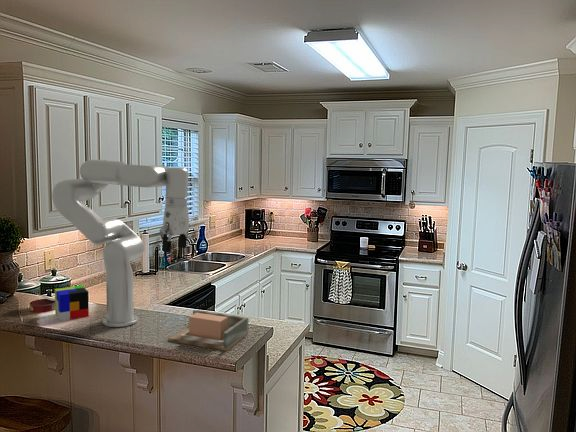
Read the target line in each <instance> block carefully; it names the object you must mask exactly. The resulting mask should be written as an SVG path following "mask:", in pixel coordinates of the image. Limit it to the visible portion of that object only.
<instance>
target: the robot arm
mask: <svg viewBox="0 0 576 432" xmlns="http://www.w3.org/2000/svg"><path fill="white" fill-rule="evenodd" d="M79 175H80V177H81V178H73V179H64V180H61V181H58V182H57V183H56V184H55V185H54V187H53V189H52V195H51V198H52V203H53V206H54V208H55V209H56V210H57V212H58V213H59V214H60V215H61V216H62V217H63V218H65V219H66V220H67V221H69V222H70V224H72V225H73V227H75V228H76V229H77V230H78V231H79V232H80V233H81V234H82V235H83V236H84V237H85V238H86V239H88V241H89V242H91V243H92V244H94V245H104V248H103V251H102V258H103V263H104V268H105V280H106V281H105V282H106V284H105V287H106V316H105V317H103V319H102V325H104V326H105V327H110V328H120V327H121V328H124V327H129V326H132V325H134V324H136V323H137V322H138V321H139V317H138V316H137V315H136V314H135V311H134V310H135V309H134V307H135V305H134V301H135V300H134V294H135V293H134V273H133V268H132V265H131V261H134V260H137V259H139V258H141V257H142V255H144V252H145V243H144V241H143V240H142V239H141V237H140V236H139V235H138V234H137V233H136V232H135V231H133V229H131V228H130V226H129V225H127V224H126V223H125V222H124V221H122V220H121V219H119V218H118V217H113V216H112V217H101V216H99V215H98V214H97V213H96V212H95V211H94V210H92V208H91V207H89V206H87V205H85V204H83V203H82V202H86V201H90V200H92V199H94V198H95V197H96V196H98V195H99V194H100V193H101V192H103V190H104V189H105V188H107V186H108V185H117V186H126V187H136V188H138V187H139V188H158V187H165V195H164V196H165V198H164V199H165V200H164V201H165V203H164V204H165V205H164V206H165V207H164V211H163V219H162V226H161V227H160V228H159V229H158V230H159V234H160V238H161V241H162V249H161V250H162V252H163V253H168V254H169V253H171V252H172V240H171V239H172V237H173V236H178V243H177V247H178V248H180V249H186V248H187V244H188V243H187V241H188V240H187V239H188V236H189V235H188V234H189V230H190V226H191V224H190V221H189V219H190V217H189V208H188V187H189V186H188V182H189V170H188V169H187V168H185V167H176V166H175V167H173V166H171V167H169V166H166V165H143V164H141V165H139V164H129V163H125V162H124V161H118V160H116V161H115V160H106V159H88V160H86V161H84V162H82V164H81V165H80V166H79Z"/></svg>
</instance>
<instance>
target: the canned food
mask: <svg viewBox="0 0 576 432" xmlns="http://www.w3.org/2000/svg"><path fill="white" fill-rule="evenodd" d="M31 291H32V292H33V293H35V294H36V295H38V296H39V297H41V298H39V299H35V300H32V301H30V302H29V311H30V312H31V313H33V314H34V313H36V314H41V313H49V312H53V311H55V298H51V297H50V296H49V297H48V296H44V295H42V294H39V293H37V292H35V291H34V290H33V289H31Z"/></svg>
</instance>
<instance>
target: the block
mask: <svg viewBox="0 0 576 432" xmlns="http://www.w3.org/2000/svg"><path fill="white" fill-rule="evenodd" d="M227 319H228V317H223V316H217V315H210V314H203V313H195V314H193V313H192V315H190V316H189V317H188V326H189V335H190V336H196V337H202V338H208V339H214V340H220V341H222V340H223V334H224V332H225V331H227Z"/></svg>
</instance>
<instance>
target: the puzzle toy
mask: <svg viewBox="0 0 576 432" xmlns="http://www.w3.org/2000/svg"><path fill="white" fill-rule="evenodd" d="M54 299H55V310H54V312H55V313H54V314H55V316H56V317H57V318H58V320H59V321H60V322H64V321H69V320H76V319H83V318H87V317H88V318H89V317H90V315H89V314H90V312H89V309H90V308H89V307H90V306H89V291H88V290H87V289H86V288H85V287H84V286H83V285H77V286H69V287H62V288H54Z"/></svg>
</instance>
